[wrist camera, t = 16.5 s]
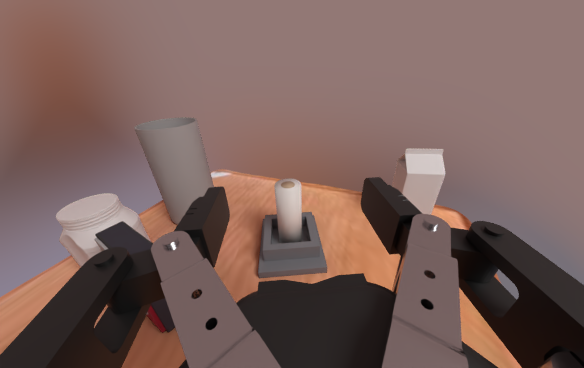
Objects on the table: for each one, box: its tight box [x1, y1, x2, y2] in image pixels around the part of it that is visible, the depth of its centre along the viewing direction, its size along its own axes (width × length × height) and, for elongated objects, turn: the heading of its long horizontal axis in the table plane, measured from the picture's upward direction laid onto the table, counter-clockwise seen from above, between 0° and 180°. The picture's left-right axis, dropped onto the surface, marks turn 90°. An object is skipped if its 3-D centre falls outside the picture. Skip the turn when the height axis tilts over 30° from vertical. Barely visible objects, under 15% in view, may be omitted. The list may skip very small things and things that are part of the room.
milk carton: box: [392, 149, 445, 215], centre depth 47 cm, size 7×7×19 cm
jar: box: [56, 193, 151, 267], centre depth 40 cm, size 12×10×15 cm
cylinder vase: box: [134, 118, 214, 225], centre depth 52 cm, size 12×12×25 cm
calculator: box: [94, 221, 175, 333], centre depth 31 cm, size 11×4×15 cm, turn 57°
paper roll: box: [275, 179, 302, 243], centre depth 42 cm, size 5×5×14 cm
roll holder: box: [258, 212, 327, 278], centre depth 45 cm, size 13×16×4 cm
